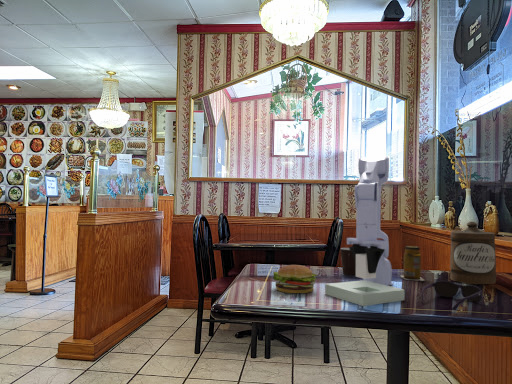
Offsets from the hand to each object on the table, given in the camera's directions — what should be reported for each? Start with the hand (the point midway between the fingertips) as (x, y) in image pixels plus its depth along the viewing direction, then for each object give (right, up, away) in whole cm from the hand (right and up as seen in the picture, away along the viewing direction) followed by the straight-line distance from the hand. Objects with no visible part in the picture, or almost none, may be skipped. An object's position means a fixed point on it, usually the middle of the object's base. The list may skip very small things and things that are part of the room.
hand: (366, 271), depth 114 cm
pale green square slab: (0, -8, +3) cm, 9 cm away
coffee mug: (+5, -10, +42) cm, 44 cm away
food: (-19, -8, +12) cm, 24 cm away
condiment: (+28, -10, +36) cm, 47 cm away
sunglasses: (+23, -9, -2) cm, 25 cm away
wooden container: (+49, -10, +33) cm, 60 cm away
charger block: (0, -2, 0) cm, 2 cm away
